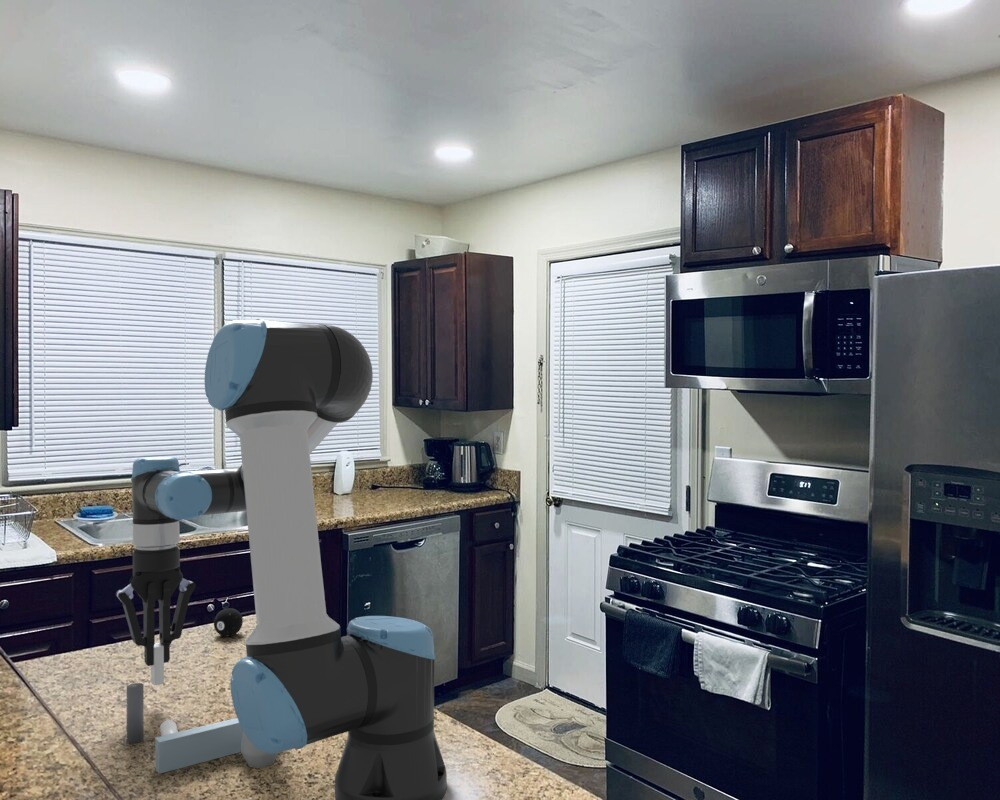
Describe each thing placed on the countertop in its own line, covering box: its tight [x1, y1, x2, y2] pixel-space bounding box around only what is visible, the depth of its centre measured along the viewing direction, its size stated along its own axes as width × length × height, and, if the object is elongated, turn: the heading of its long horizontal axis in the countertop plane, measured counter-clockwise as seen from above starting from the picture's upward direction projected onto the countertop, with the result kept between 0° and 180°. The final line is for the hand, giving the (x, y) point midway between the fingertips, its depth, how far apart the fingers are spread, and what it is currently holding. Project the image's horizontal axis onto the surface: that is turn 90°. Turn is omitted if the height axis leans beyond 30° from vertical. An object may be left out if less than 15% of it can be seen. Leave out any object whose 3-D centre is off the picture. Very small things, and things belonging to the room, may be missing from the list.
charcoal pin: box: [126, 682, 145, 744], centre depth 125 cm, size 2×2×8 cm
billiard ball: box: [213, 607, 244, 637], centre depth 180 cm, size 6×6×6 cm
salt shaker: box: [240, 732, 279, 769], centre depth 118 cm, size 6×6×13 cm
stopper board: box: [154, 717, 244, 775], centre depth 120 cm, size 2×18×4 cm, turn 127°
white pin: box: [159, 719, 179, 736], centre depth 124 cm, size 2×2×8 cm
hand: (157, 682), depth 139 cm, fingers closed
